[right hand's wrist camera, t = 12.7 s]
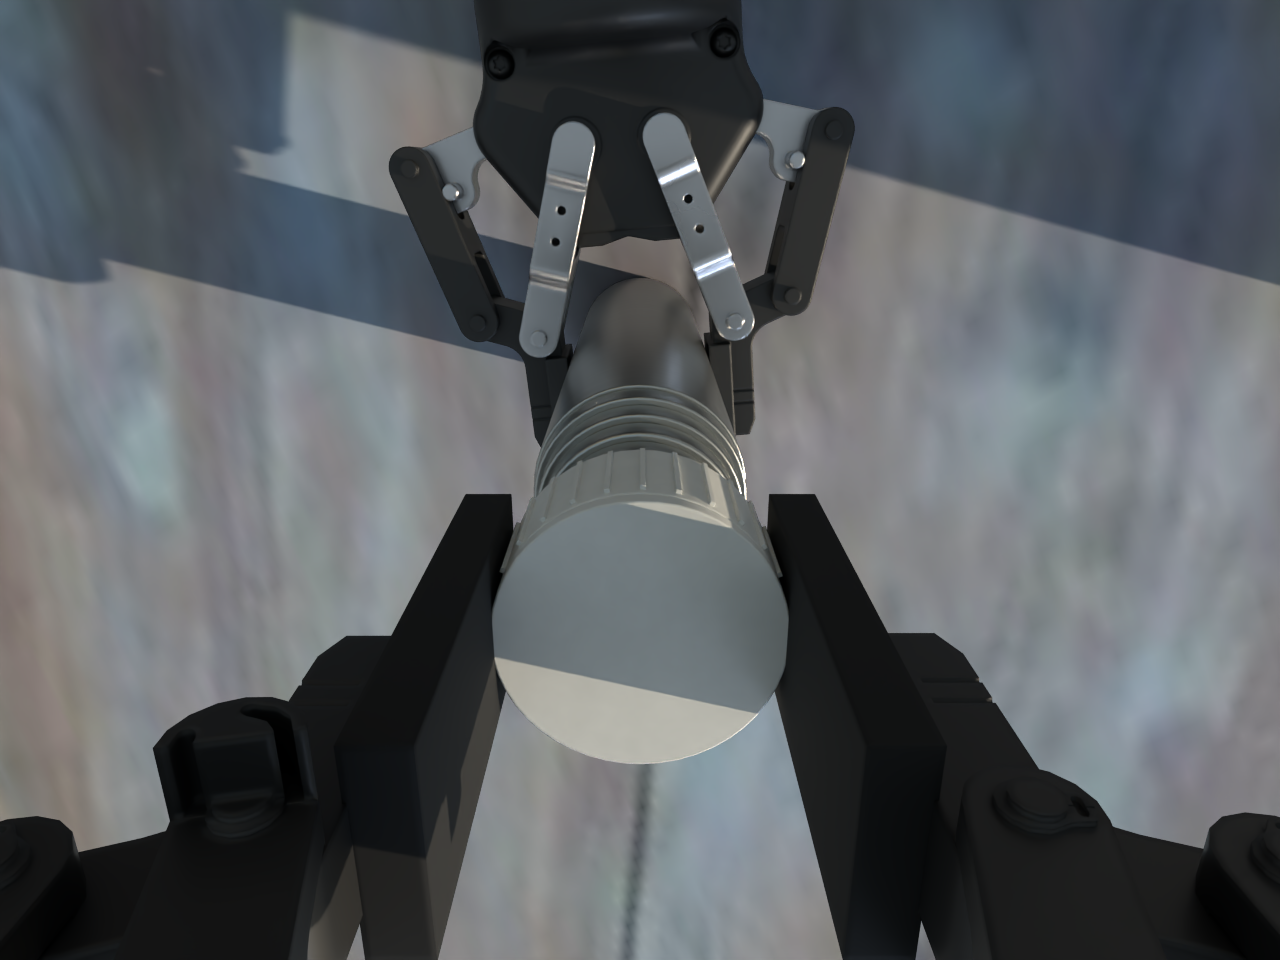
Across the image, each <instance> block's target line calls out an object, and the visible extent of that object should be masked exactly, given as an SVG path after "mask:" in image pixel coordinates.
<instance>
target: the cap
mask: <svg viewBox="0 0 1280 960" xmlns="http://www.w3.org/2000/svg"><path fill="white" fill-rule="evenodd" d="M500 572H501V573H503V575H502V578H501V581H500V584H499V587H498V590H497V593H496V597H495V600H494V603H493V607H492V628H493V643H494V657H495V667H496V670H497V673H498V676H499V678H500V680H501V682H502V684H503V686H504V688H505V690H506V692H507V694H508V695H509V697H510V698H511V700H512V701H513V703H514V704H515V706H516V707H517V708H518V709H519V710H520V711H521V713H522V714H523V715H524V716H525V717H526V718H527V719H528V720H529V721H530V722H531V723H532V724H533V725H534V726H536V727H537V728H538V729H539V730H540V731H542V732H543V733H544V734H546V735H547V736H549V737H550V738H552V739H553V740H555V741H556V742H558V743H560V744H562V745H564V746H566V747H568V748H570V749H572V750H574V751H577V752H580V753H582V754H585V755H587V756H591V757H595V758H598V759H602V760H606V761H613V762H619V763H631V764H650V763H662V762H668V761H674V760H679V759H683V758H686V757H689V756H693V755H696V754H699V753H701V752H703V751H706V750H708V749H711V748H713V747H715V746H717V745H718V744H720V743H722V742H724V741H726V740H727V739H729V738H730V737H732V736H733V735H735V734H736V733H737V732H739V731H740V730H741V729H743V728H744V727H745V726H746V725H747V724H748V723H749V722H750V721H751V720H753V719H754V718H755V717H756V716H757V714H758V713H759V712H760V711H761V710H762V708H763V707H764V706H765V705H766V704H767V702H768V701H769V699H770V697H771V696H772V694H773V693H774V691H775V689H776V688H777V686H778V683H779V681H780V679H781V677H782V674H783V672H784V669H785V664H786V651H787V636H788V621H789V610H788V604H787V601H786V598H785V595H784V592H783V589H782V586H781V583H780V580H779V577H782V576H783V575H782V572H781V569H780V566H779V564H778V561H777V558H776V555H775V552H774V549H773V546H772V543H771V540H770V537H769V535H768V532H767V529H766V526H764V527H762V526H761V524H760V522H759V520H758V517H757V514H756V511H755V508H754V505H753V503H752V502H751V501H749V502H747V500H746V499H745V497H744V496H743V495H742V494H741V493H740V492H739V491H738V490H737V489H736V488H735V487H734V483H733V481H732V480H730V479H729V480H728V481H727V480H726V479H725V478H724V477H723V476H721V475H720V474H718V473H717V472H715V471H713V470H712V469H710V468H709V467H708V465H707V464H706V463H704V462H703V463H702V464H701V463H699V462H696V461H694V460H692V459H689V458H686V457H683V456H680V455H678V454H677V452H672V453H667V452H662V451H655V450H645V448H640V450H628V451H618V452H613V451H608V453H607V454H603V455H600V456H598V457H595V458H592V459H589V460H586V461H584V462H583V461H582V460H581V461H579V462H577V465H576V466H574V467H572V468H570V469H568V470H567V471H565V472H564V473H562V474H561V475H559V476H558V477H557V478H556V477H555V476H554V477H553V478H551V480H550V484H548V485H547V486H546V487H545V488H544V489H543V490H542V491H541V493H540V494H539V495H538V496H537V497H536V498H535V499H534V498H533V497H532V498H531V500H530V501H529V505H528V508H527V511H526V513H525V514H524V517H523V519H522V521H521V523H518V522H517V523H516V525H515V528H514V531H513V534H512V537H511V540H510V543H509V545H508V548H507V551H506V554H505V557H504V560H503V563H502V566H501V569H500Z"/></svg>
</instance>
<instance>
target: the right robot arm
mask: <svg viewBox="0 0 1280 960" xmlns="http://www.w3.org/2000/svg"><path fill="white" fill-rule="evenodd" d="M767 532H768V535H769V537H770V540H771V543H772V546H773V549H774V552H775V555H776V558H777V561H778V564H779V566H780V569H781V572H782V575H783V576H782V577H779V580H780V583H781V586H782V589H783V592H784V595H785V598H786V601H787V604H788V610H789V621H788V636H787V651H786V664H785V669H784V672H783V674H782V677H781V679H780V681H779V683H778V686H777V688H776V689H775V694H776V698H777V702H778V706H779V710H780V714H781V718H782V722H783V726H784V730H785V734H786V737H787V741H788V745H789V749H790V753H791V757H792V761H793V765H794V769H795V773H796V777H797V781H798V785H799V789H800V793H801V797H802V801H803V805H804V808H805V812H806V816H807V820H808V824H809V828H810V832H811V836H812V840H813V844H814V848H815V852H816V856H817V860H818V864H819V868H820V872H821V875H822V879H823V883H824V887H825V891H826V895H827V899H828V903H829V907H830V911H831V915H832V919H833V923H834V927H835V931H836V935H837V939H838V942H839V946H840V950H841V954H842V958H843V960H915V958H916V952H917V945H918V938H919V932H920V925H921V921H922V924H923V926H924V929H925V932H926V934H927V937H928V940H929V943H930V945H931V948H932V951H933V953H934V956H935V959H936V960H1280V817H1277V816H1272V815H1263V814H1254V813H1240V814H1234V815H1229V816H1223V817H1221V818H1220V819H1219V820H1218V821H1217V822H1216V823H1215V824H1214V825H1212V826H1211V827H1210V828H1209V832H1208V835H1207V839H1206V842H1205V846H1204V849H1201V848H1197V847H1193V846H1188V845H1184V844H1179V843H1175V842H1170V841H1166V840H1161V839H1157V838H1152V837H1148V836H1143V835H1139V834H1136V833H1132V832H1129V831H1125V830H1122V829H1119V828H1115V827H1113V826H1112V824H1111V821H1110V819H1109V818H1108V816H1107V815H1106V813H1105V812H1104V811H1103V809H1102V808H1101V806H1100V805H1099V803H1098V802H1097V801H1096V800H1095V799H1094V798H1092V797H1091V796H1090V795H1089V794H1087V793H1086V792H1085V791H1083V790H1082V789H1081V788H1080V787H1078V786H1077V785H1076V784H1074V783H1072V782H1070V781H1068V780H1065V779H1063V778H1061V777H1059V776H1057V775H1055V774H1053V773H1051V772H1048V771H1044V770H1040V769H1039V768H1038V767H1037V765H1036V764H1035V762H1034V761H1033V759H1032V758H1031V756H1030V755H1029V753H1028V752H1027V750H1026V749H1025V747H1024V746H1023V744H1022V743H1021V741H1020V739H1019V738H1018V736H1017V735H1016V733H1015V732H1014V730H1013V729H1012V727H1011V726H1010V724H1009V723H1008V721H1007V720H1006V718H1005V717H1004V715H1003V714H1002V712H1001V711H1000V709H999V707H998V706H997V704H996V703H993V702H992V697H991V695H990V694H989V692H988V691H987V689H986V688H985V686H984V685H983V683H979V677H978V676H977V674H976V672H975V671H974V669H973V668H972V666H971V665H970V663H969V662H968V660H967V659H966V657H965V656H964V654H963V653H961V652H960V651H959V650H957V649H956V648H954V647H953V646H952V645H950V644H949V643H947V642H946V641H945V640H943V639H942V638H940V637H939V636H938V635H936V634H935V633H888V632H887V631H886V629H885V627H884V625H883V623H882V621H881V619H880V617H879V615H878V613H877V611H876V610H875V608H874V606H873V604H872V602H871V600H870V598H869V596H868V594H867V592H866V591H865V589H864V587H863V585H862V583H861V581H860V579H859V577H858V575H857V573H856V572H855V570H854V568H853V566H852V564H851V562H850V560H849V558H848V556H847V554H846V553H845V551H844V549H843V547H842V545H841V543H840V541H839V539H838V537H837V535H836V533H835V532H834V530H833V528H832V526H831V524H830V522H829V520H828V518H827V516H826V514H825V513H824V511H823V509H822V507H821V505H820V503H819V501H818V499H817V497H816V495H815V494H769V507H768V525H767ZM512 534H513V515H512V497H511V494H466V495H465V496H464V498H463V500H462V502H461V504H460V506H459V508H458V510H457V512H456V514H455V516H454V517H453V519H452V521H451V523H450V525H449V527H448V529H447V531H446V533H445V535H444V536H443V538H442V540H441V542H440V544H439V546H438V548H437V550H436V552H435V554H434V555H433V557H432V559H431V561H430V563H429V565H428V567H427V569H426V571H425V573H424V575H423V576H422V578H421V580H420V582H419V584H418V586H417V588H416V590H415V592H414V594H413V595H412V597H411V599H410V601H409V603H408V605H407V607H406V609H405V611H404V613H403V615H402V616H401V618H400V620H399V622H398V624H397V626H396V628H395V630H394V632H393V634H392V635H391V636H346V637H344V638H343V639H342V640H340V641H339V642H337V643H336V644H335V645H333V646H332V647H330V648H329V649H328V650H326V651H325V652H323V653H322V654H321V655H319V656H318V657H317V659H316V660H315V662H314V663H313V665H312V666H311V668H310V669H309V671H308V672H307V674H306V675H305V677H304V678H303V680H302V686H298V688H297V689H296V691H295V692H294V694H293V695H292V697H291V698H290V700H289V702H288V701H285V700H281V699H277V698H273V697H245V698H241V699H236V700H231V701H227V702H222V703H218V704H215V705H213V706H210V707H208V708H205V709H203V710H201V711H198V712H196V713H193V714H191V715H189V716H187V717H186V718H185V719H183V720H182V721H180V722H179V723H177V724H176V725H174V726H173V727H171V728H170V729H168V730H167V731H166V732H165V734H164V735H163V736H162V737H161V739H160V740H159V741H158V742H157V744H156V745H155V746H154V747H153V751H154V755H155V760H156V764H157V768H158V772H159V777H160V781H161V785H162V789H163V793H164V798H165V802H166V806H167V810H168V815H169V819H170V823H169V825H168V828H167V830H166V831H164V832H161V833H158V834H154V835H151V836H147V837H144V838H140V839H136V840H131V841H127V842H122V843H118V844H113V845H109V846H104V847H100V848H96V849H91V850H87V851H82V852H78V850H77V847H76V843H75V840H74V836H73V833H72V831H71V830H70V829H69V828H67V827H66V826H65V825H64V824H63V823H62V822H61V821H60V820H55V819H50V818H44V817H39V816H34V817H25V818H16V819H7V820H4V821H1V822H0V960H346V959H347V957H348V954H349V951H350V948H351V946H352V943H353V940H354V938H355V935H356V932H357V929H358V927H359V924H360V928H361V935H362V941H363V948H364V955H365V960H438V957H439V953H440V949H441V945H442V941H443V937H444V933H445V929H446V925H447V921H448V917H449V913H450V909H451V905H452V901H453V897H454V893H455V889H456V886H457V882H458V878H459V874H460V870H461V866H462V862H463V858H464V854H465V850H466V846H467V842H468V838H469V834H470V830H471V826H472V822H473V818H474V815H475V811H476V807H477V803H478V799H479V795H480V791H481V787H482V783H483V779H484V775H485V771H486V767H487V763H488V759H489V755H490V751H491V747H492V744H493V740H494V736H495V732H496V728H497V724H498V720H499V716H500V712H501V708H502V704H503V700H504V696H505V692H506V690H505V688H504V686H503V684H502V682H501V680H500V678H499V676H498V673H497V670H496V667H495V657H494V643H493V628H492V607H493V603H494V600H495V597H496V593H497V590H498V587H499V584H500V581H501V578H502V575H503V573H501V572H500V569H501V566H502V563H503V560H504V557H505V554H506V551H507V548H508V545H509V543H510V540H511V537H512Z"/></svg>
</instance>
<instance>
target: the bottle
mask: <svg viewBox="0 0 1280 960" xmlns="http://www.w3.org/2000/svg"><path fill="white" fill-rule="evenodd" d="M640 448H645V450H655V451H662V452H667V453H672V452H677V454H678V455H680V456H683V457H686V458H689V459H692V460H694V461H696V462H699V463H701V464H702V463H703V462H704V463H706V464H707V465H708V467H709V468H710V469H712V470H713V471H715V472H717V473H718V474H720V475H721V476H723V477H724V478H725V479H726V480H727V481H728V480H729V479H730V480H732V481H733V483H734V487H735V488H736V489H737V490H738V491H739V492H740V493H741V494H742V495H743V496H744V497H745V499H746V500H747V492H746V472H745V467H744V461H743V458H742V455H741V452H740V449H739V446H738V443H737V440H736V437H735V434H734V431H733V429H732V426H731V423H730V420H729V417H728V414H727V411H726V408H725V406H724V403H723V400H722V397H721V394H720V391H719V388H718V385H717V382H716V380H715V377H714V374H713V371H712V368H711V365H710V362H709V359H708V357H707V354H706V351H705V348H704V345H703V342H702V339H701V336H700V334H699V331H698V328H697V325H696V322H695V319H694V316H693V313H692V311H691V309H690V307H689V305H688V304H687V302H686V301H685V299H684V298H683V297H682V296H681V295H680V294H679V293H678V292H677V291H676V290H675V289H673V288H672V287H670V286H669V285H667V284H665V283H663V282H660V281H657V280H654V279H649V278H631V279H627V280H623V281H620V282H617V283H616V284H614V285H612V286H610V287H609V288H607V289H606V290H604V291H603V292H602V293H601V294H600V295H599V296H598V297H597V299H596V300H595V301H594V303H593V304H592V306H591V308H590V310H589V312H588V314H587V317H586V320H585V323H584V326H583V329H582V331H581V334H580V337H579V340H578V343H577V346H576V349H575V352H574V354H573V357H572V360H571V363H570V366H569V369H568V372H567V375H566V377H565V380H564V383H563V386H562V389H561V392H560V395H559V398H558V401H557V403H556V406H555V409H554V412H553V415H552V418H551V421H550V424H549V426H548V429H547V432H546V435H545V438H544V441H543V444H542V447H541V450H540V453H539V456H538V459H537V463H536V469H535V479H534V499H535V498H536V497H537V496H538V495H539V494H540V493H541V491H542V490H543V489H544V488H545V487H546V486H547V485H548V484H550V480H551V478H553V477H554V476H555V477H556V478H557V477H558V476H559V475H561V474H562V473H564V472H565V471H567V470H568V469H570V468H572V467H574V466H576V465H577V462H579V461H581V460H582V461H583V462H584V461H586V460H589V459H592V458H595V457H598V456H600V455H603V454H607V453H608V451H613V452H618V451H628V450H640Z"/></svg>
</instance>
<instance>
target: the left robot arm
mask: <svg viewBox="0 0 1280 960" xmlns="http://www.w3.org/2000/svg"><path fill="white" fill-rule="evenodd" d="M474 7H475V14H476V21H477V28H478V36H479V43H480V50H481V58H482V65H483V85H482V91H481V96H480V100H479V102H478V105H477V108H476V110H475V114H474V119H473V127H471V128H469V129H466V130H464V131H462V132H459V133H457V134H454V135H452V136H450V137H447V138H445V139H443V140H440V141H438V142H436V143H433V144H431V145H428V146H426V147H423V148H421V147H402V148H400V149H398V150H396V151H395V152H394V153H393V155H392V156H391V158H390V161H389V172H390V175H391V178H392V180H393V182H394V184H395V187H396V189H397V191H398V193H399V195H400V198H401V200H402V202H403V204H404V206H405V209H406V211H407V213H408V215H409V217H410V220H411V222H412V224H413V226H414V228H415V231H416V233H417V235H418V237H419V239H420V242H421V244H422V246H423V248H424V250H425V253H426V255H427V257H428V259H429V261H430V264H431V266H432V268H433V270H434V272H435V275H436V277H437V279H438V281H439V284H440V286H441V288H442V290H443V292H444V295H445V297H446V299H447V301H448V303H449V306H450V308H451V310H452V312H453V314H454V317H455V319H456V321H457V323H458V325H459V328H460V330H461V332H462V333H463V334H464V336H466V337H467V338H468V339H470V340H472V341H475V342H484V341H490V342H493V343H497V344H501V345H505V346H508V347H510V348H512V349H514V350H515V351H517V352H518V353H519V354H520V356H521V357H522V359H523V361H524V363H525V367H526V374H527V382H528V389H529V397H530V404H531V411H532V418H533V426H534V433H535V438H536V440H537V441H538V443H539V445H540V447H542V444H543V441H544V438H545V435H546V432H547V429H548V426H549V424H550V421H551V418H552V415H553V412H554V409H555V406H556V403H557V401H558V398H559V395H560V392H561V389H562V386H563V383H564V380H565V377H566V375H567V372H568V369H569V366H570V363H571V360H572V357H573V350H572V344H567V345H565V338H564V327H565V322H566V317H567V312H568V307H569V302H570V297H571V292H572V287H573V282H574V278H575V274H576V270H577V265H578V260H579V255H580V250H581V248H582V247H593V246H603V245H605V244H608V243H611V242H613V241H616V240H619V239H621V238H624V237H627V236H631V237H637V238H642V239H648V240H653V241H658V240H669V239H680V240H681V243H682V245H683V248H684V250H685V253H686V255H687V258H688V260H689V263H690V265H691V268H692V270H693V273H694V275H695V278H696V280H697V283H698V285H699V288H700V290H701V293H702V295H703V298H704V300H705V303H706V305H707V308H708V311H709V324H710V333H704V343H705V351H706V354H707V357H708V359H709V362H710V365H711V368H712V371H713V374H714V377H715V380H716V382H717V385H718V388H719V391H720V394H721V397H722V400H723V403H724V406H725V408H726V411H727V414H728V417H729V420H730V423H731V426H732V429H733V431H734V434H735V435H744V434H750V432H751V429H752V426H753V423H754V421H755V405H754V383H753V360H752V343H753V339H754V336H755V335H756V333H757V332H758V330H759V329H760V328H761V327H763V326H764V325H766V324H767V323H770V322H772V321H774V320H776V319H778V318H781V317H783V316H785V315H789V316H793V315H798V314H800V313H802V312H803V311H805V310H806V309H807V307H808V306H809V304H810V302H811V299H812V295H813V292H814V288H815V284H816V280H817V276H818V272H819V268H820V264H821V260H822V256H823V253H824V249H825V245H826V241H827V237H828V233H829V229H830V225H831V221H832V218H833V214H834V210H835V206H836V202H837V198H838V194H839V190H840V186H841V182H842V179H843V175H844V171H845V167H846V163H847V159H848V155H849V151H850V147H851V143H852V140H853V136H854V131H855V126H854V121H853V118H852V116H851V115H850V114H849V113H848V112H847V111H846V110H844V109H842V108H839V107H831V108H830V107H828V108H824V109H820V110H814V109H809V108H805V107H800V106H795V105H790V104H786V103H781V102H776V101H771V100H767V99H763V95H762V92H761V89H760V87H759V85H758V83H757V81H756V79H755V78H754V76H753V74H752V73H751V71H750V68H749V66H748V63H747V60H746V57H745V53H744V47H743V35H742V11H741V0H474ZM755 134H758V135H760V136H761V137H762V138H763V139H764V140H765V141H766V143H767V145H768V147H769V166H770V169H771V171H772V173H773V174H774V175H775V176H776V177H777V178H779V179H781V180H784V181H786V184H785V188H784V193H783V197H782V201H781V205H780V210H779V214H778V218H777V222H776V227H775V231H774V235H773V239H772V244H771V248H770V252H769V256H768V261H767V265H766V269H765V273H764V275H762V276H760V277H758V278H756V279H753V280H751V281H749V282H747V283H745V284H743V285H742V283H741V280H740V277H739V275H738V272H737V269H736V267H735V264H734V261H733V257H732V254H731V251H730V248H729V245H728V243H727V240H726V237H725V235H724V232H723V229H722V227H721V224H720V221H719V219H718V216H717V213H716V211H715V208H714V206H713V204H714V202H715V200H716V199H717V197H718V195H719V194H720V192H721V190H722V189H723V187H724V185H725V183H726V182H727V180H728V178H729V177H730V175H731V173H732V172H733V170H734V168H735V167H736V165H737V163H738V162H739V160H740V158H741V157H742V155H743V153H744V152H745V150H746V148H747V147H748V145H749V143H750V142H751V140H752V138H753V137H754V135H755ZM485 160H488V161H489V162H490V163H491V165H492V166H493V167H494V168H495V169H496V170H497V171H498V173H499V174H500V175H501V176H502V177H503V178H504V179H505V181H506V182H507V183H508V184H509V185H510V186H511V187H512V189H513V190H514V191H515V192H516V193H517V194H518V196H519V197H520V198H521V199H522V200H523V201H524V202H525V204H526V205H527V206H528V207H529V208H530V209H531V210H532V212H533V213H534V214H535V215H536V216H537V217H538V218H539V220H538V226H537V231H536V237H535V242H534V248H533V253H532V259H531V265H530V271H529V284H528V290H527V296H526V301H525V303H522V302H518V301H514V300H510V299H507V298H505V297H504V295H503V292H502V290H501V288H500V285H499V283H498V281H497V278H496V276H495V274H494V271H493V269H492V267H491V264H490V262H489V260H488V257H487V255H486V253H485V250H484V248H483V246H482V243H481V241H480V239H479V237H478V234H477V232H476V230H475V227H474V225H473V223H472V220H471V218H470V216H469V213H468V211H467V210H469V209H471V208H473V207H474V206H475V205H476V204H477V202H478V200H479V197H480V188H479V184H478V178H477V177H478V170H479V168H480V166H481V164H482V163H483V162H484V161H485ZM735 437H736V436H735Z"/></svg>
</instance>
